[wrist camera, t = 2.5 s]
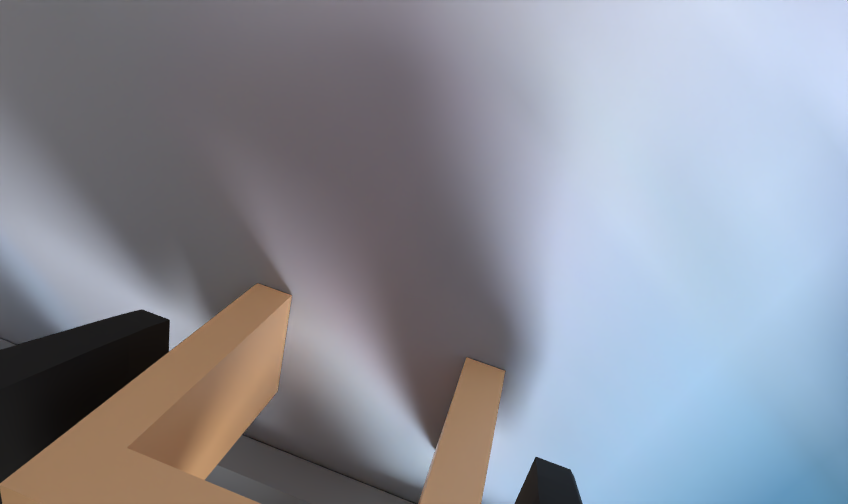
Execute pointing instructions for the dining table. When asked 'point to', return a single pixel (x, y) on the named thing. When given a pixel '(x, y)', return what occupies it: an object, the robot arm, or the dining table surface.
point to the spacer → (225, 422)
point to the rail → (285, 477)
